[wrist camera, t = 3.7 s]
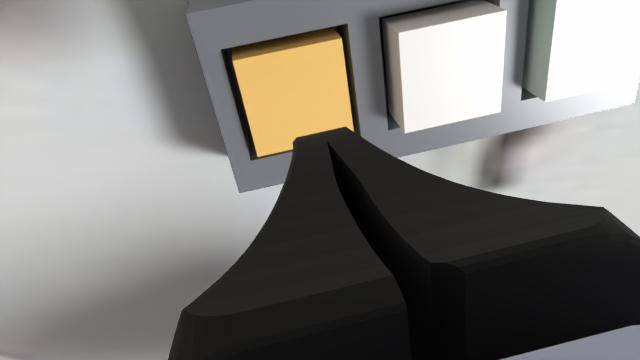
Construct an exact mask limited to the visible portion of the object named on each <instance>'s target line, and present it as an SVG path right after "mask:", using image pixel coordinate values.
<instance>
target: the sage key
mask: <svg viewBox="0 0 640 360" xmlns="http://www.w3.org/2000/svg"><path fill="white" fill-rule="evenodd" d="M639 72H640V0H529V8H528V20H527V32H526V44H525V56H524V68H523V80H522V87H523V88H525V89H526V90H528V91H529V92H531V93H532V94H534V95H535V96H537V97H538V98H540V99H541V100H543V101H544V102H548V101H553V100H557V99H562V98H566V97H571V96H575V95H580V94H584V93H589V92H593V91H598V90H602V89H607V88H611V87H616V86H620V85H625V84H629V83H634V82H637V81H638V77H639Z"/></svg>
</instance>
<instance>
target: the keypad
mask: <svg viewBox="0 0 640 360" xmlns="http://www.w3.org/2000/svg"><path fill="white" fill-rule="evenodd" d="M466 1H471V0H190V1H189V4H188V7H187V11H186V18H187V21H188V24H189V28H190V31H191V34H192V38H193V41H194V44H195V47H196V51H197V54H198V57H199V61H200V64H201V67H202V71H203V74H204V77H205V81H206V84H207V87H208V91H209V94H210V97H211V101H212V104H213V107H214V111H215V114H216V117H217V121H218V124H219V127H220V130H221V134H222V137H223V140H224V144H225V147H226V150H227V154H228V157H229V160H230V164H231V167H232V170H233V174H234V177H235V180H236V184H237V187H238V190H239V193H243V192H247V191H252V190H256V189H260V188H265V187H269V186H274V185H278V184H282V183H285V180H286V177H287V173H288V170H289V167H290V163H291V158H292V153H293V149H291V150H287V151H282V152H278V153H273V154H269V155H264V156H260V157H258V156H257V152H256V149H255V145H254V141H253V137H252V133H251V130H250V126H249V122H248V118H247V114H246V110H245V107H244V103H243V99H242V95H241V91H240V88H239V84H238V80H237V76H236V72H235V68H234V65H233V61H232V47H236V46H240V45H245V44H250V43H255V42H260V41H265V40H269V39H274V38H279V37H284V36H289V35H294V34H299V33H303V32H308V31H313V30H318V29H323V28H328V27H333V28H334V29H335V30H336V31H337V33H338V34H339V35H340V37H341V38H342V44H343V51H344V59H345V67H346V75H347V83H348V90H349V98H350V106H351V114H352V121H353V129H354V132H355V133H356V134H358V135H359V136H361V137H362V138H364V139H365V140H367V141H368V142H370V143H372V144H373V145H375V146H377V147H378V148H380V149H382V150H383V151H385V152H387V153H389V154H390V155H392V156H394V157H396V158H398V157H402V156H406V155H411V154H415V153H420V152H424V151H429V150H433V149H437V148H442V147H446V146H451V145H455V144H459V143H464V142H468V141H473V140H477V139H482V138H486V137H490V136H495V135H499V134H504V133H508V132H513V131H517V130H521V129H526V128H530V127H535V126H539V125H544V124H548V123H552V122H557V121H561V120H566V119H570V118H575V117H579V116H583V115H588V114H592V113H597V112H601V111H606V110H610V109H614V108H619V107H623V106H628V105H632V104H634V103H635V98H636V94H637V89H638V85H639V81H640V72H639V77H638V81H637V82H634V83H629V84H625V85H620V86H616V87H611V88H607V89H602V90H598V91H593V92H589V93H584V94H580V95H575V96H571V97H566V98H562V99H557V100H553V101H548V102H544V101H543V100H541V99H540V98H538V97H537V96H535V95H534V94H532V93H531V92H529V91H528V90H526V89H525V88H523V87H522V80H523V68H524V56H525V44H526V32H527V20H528V8H529V0H484V1H487V2H489V3H491V4H493V5H496V6H498V7H500V8H503V9H505V10H507V16H506V33H505V50H504V66H503V83H502V100H501V112H499V113H494V114H490V115H485V116H481V117H476V118H472V119H467V120H463V121H458V122H454V123H450V124H445V125H441V126H436V127H432V128H427V129H423V130H418V131H414V132H409V133H404V132H403V130H402V129H401V128H400V126H399V125H398V124H397V122H396V121H395V119H394V118H393V117H392V115H391V114H390V113H389V105H388V92H387V80H386V68H385V55H384V43H383V31H382V19H383V18H388V17H393V16H398V15H403V14H408V13H412V12H417V11H422V10H427V9H432V8H437V7H442V6H446V5H451V4H456V3H461V2H466Z"/></svg>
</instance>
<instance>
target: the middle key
mask: <svg viewBox="0 0 640 360" xmlns="http://www.w3.org/2000/svg"><path fill="white" fill-rule="evenodd" d="M506 16H507V10H505V9H503V8H500V7H498V6H496V5H493V4H491V3H489V2H487V1H484V0H471V1H466V2H461V3H456V4H451V5H446V6H442V7H437V8H432V9H427V10H422V11H417V12H412V13H408V14H403V15H398V16H393V17H388V18H383V19H382V31H383V43H384V55H385V68H386V80H387V92H388V105H389V113H390V114H391V115H392V117H393V118H394V119H395V121H396V122H397V124H398V125H399V126H400V128H401V129H402V130H403V132H404V133H409V132H414V131H418V130H423V129H427V128H432V127H436V126H441V125H445V124H450V123H454V122H458V121H463V120H467V119H472V118H476V117H481V116H485V115H490V114H494V113H499V112H501V100H502V83H503V66H504V50H505V33H506Z"/></svg>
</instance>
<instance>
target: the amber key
mask: <svg viewBox="0 0 640 360" xmlns="http://www.w3.org/2000/svg"><path fill="white" fill-rule="evenodd" d="M232 61H233V65H234V68H235V72H236V76H237V80H238V84H239V88H240V91H241V95H242V99H243V103H244V107H245V110H246V114H247V118H248V122H249V126H250V130H251V133H252V137H253V141H254V145H255V149H256V152H257V156H258V157H260V156H264V155H269V154H273V153H278V152H282V151H287V150H291V149H293V141H294V140H295V139H296V137H301V136H305V135H310V134H314V133H319V132H323V131H328V130H332V129H337V128H341V127H347V128H349V129H350V130H352V131H353V132H354V129H353V121H352V114H351V106H350V98H349V90H348V83H347V75H346V67H345V59H344V51H343V44H342V38H341V37H340V35H339V34H338V33H337V31H336V30H335V29H334V28H333V27H328V28H323V29H318V30H313V31H308V32H303V33H299V34H294V35H289V36H284V37H279V38H274V39H269V40H265V41H260V42H255V43H250V44H245V45H240V46H236V47H232Z"/></svg>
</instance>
